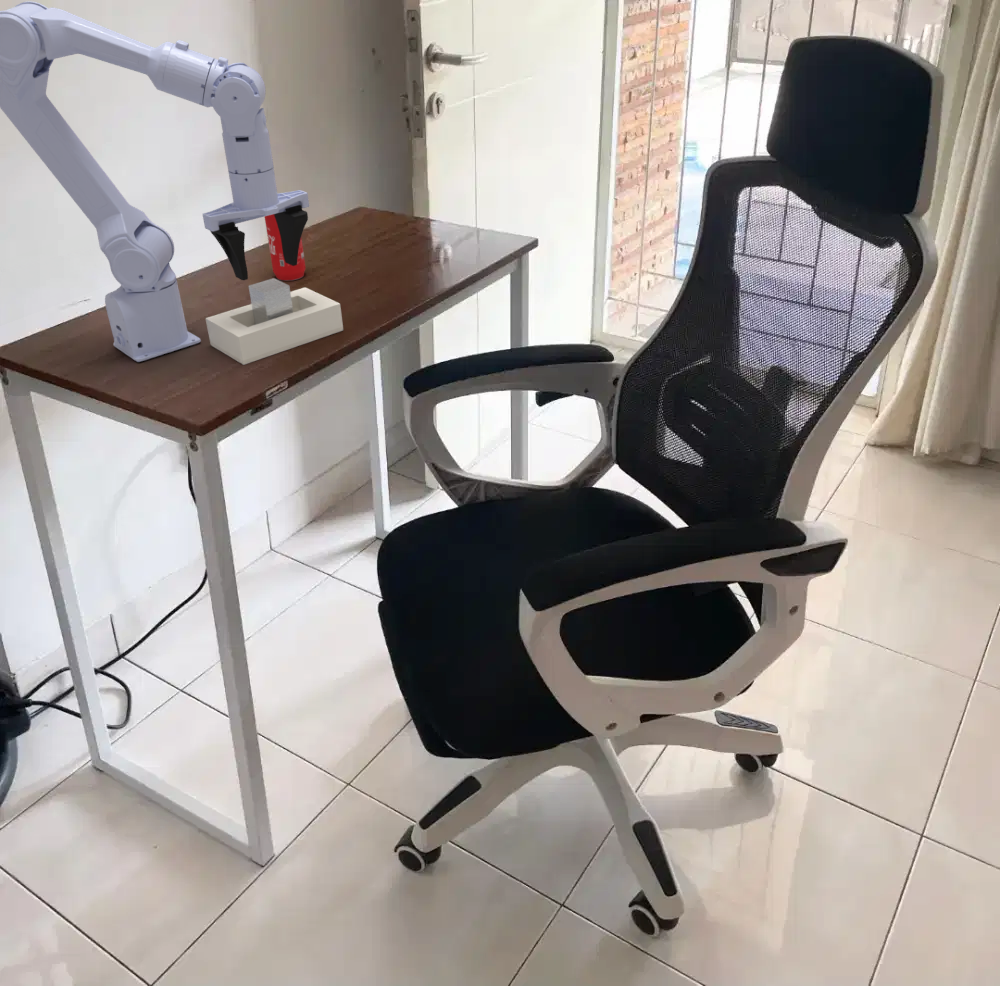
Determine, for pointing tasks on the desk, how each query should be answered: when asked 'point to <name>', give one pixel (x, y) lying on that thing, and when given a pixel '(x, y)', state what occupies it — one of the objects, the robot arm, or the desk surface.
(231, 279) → the desk surface
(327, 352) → the desk surface
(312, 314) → the cream rectangular tray
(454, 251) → the desk surface
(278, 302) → the grey rectangular block
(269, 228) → the beverage can
